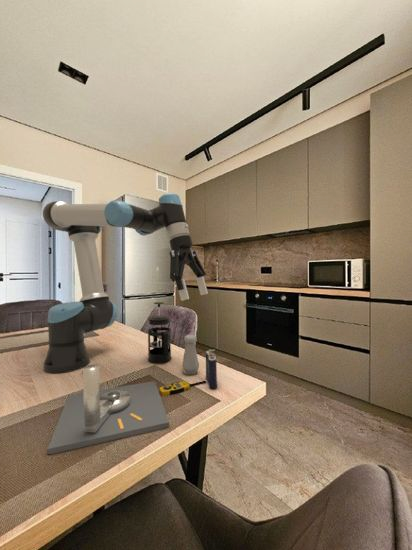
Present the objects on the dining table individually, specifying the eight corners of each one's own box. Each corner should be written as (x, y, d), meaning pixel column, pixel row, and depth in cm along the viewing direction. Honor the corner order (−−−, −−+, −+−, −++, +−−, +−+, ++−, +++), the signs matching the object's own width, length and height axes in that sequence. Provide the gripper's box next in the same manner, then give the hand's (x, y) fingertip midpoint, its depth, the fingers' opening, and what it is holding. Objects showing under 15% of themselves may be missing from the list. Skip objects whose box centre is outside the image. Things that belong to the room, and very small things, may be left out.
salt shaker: (196, 376, 83) (196, 338, 82) (180, 375, 84) (179, 337, 83) (200, 369, 88) (200, 333, 88) (185, 368, 90) (184, 333, 89)
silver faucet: (106, 395, 68) (105, 346, 68) (134, 396, 67) (133, 347, 67) (70, 433, 52) (68, 369, 52) (106, 435, 52) (105, 371, 51)
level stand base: (68, 399, 69) (68, 394, 69) (155, 384, 77) (155, 380, 77) (47, 455, 48) (47, 448, 48) (169, 427, 56) (169, 421, 56)
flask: (205, 376, 82) (205, 345, 82) (213, 376, 83) (213, 344, 83) (209, 390, 73) (209, 354, 73) (219, 389, 74) (219, 354, 73)
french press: (143, 357, 101) (142, 301, 100) (165, 353, 106) (164, 300, 105) (154, 367, 91) (153, 305, 90) (177, 361, 96) (176, 303, 96)
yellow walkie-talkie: (157, 385, 74) (202, 374, 80) (157, 391, 74) (202, 380, 81) (162, 392, 69) (209, 380, 76) (162, 399, 70) (209, 386, 76)
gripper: (167, 230, 73) (185, 299, 71) (204, 237, 95) (219, 290, 94) (148, 238, 76) (165, 305, 75) (188, 243, 98) (202, 294, 97)
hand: (195, 297), depth 84 cm, fingers open, 13 cm apart
